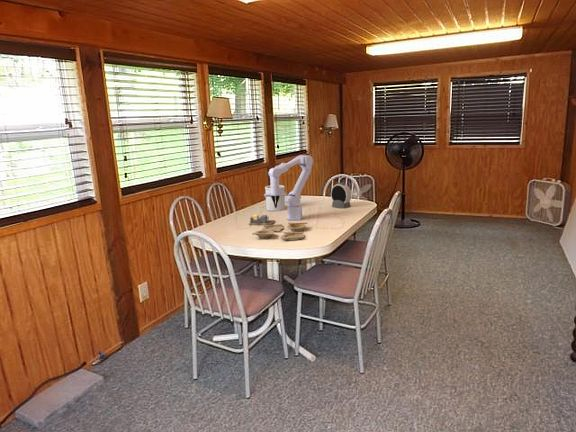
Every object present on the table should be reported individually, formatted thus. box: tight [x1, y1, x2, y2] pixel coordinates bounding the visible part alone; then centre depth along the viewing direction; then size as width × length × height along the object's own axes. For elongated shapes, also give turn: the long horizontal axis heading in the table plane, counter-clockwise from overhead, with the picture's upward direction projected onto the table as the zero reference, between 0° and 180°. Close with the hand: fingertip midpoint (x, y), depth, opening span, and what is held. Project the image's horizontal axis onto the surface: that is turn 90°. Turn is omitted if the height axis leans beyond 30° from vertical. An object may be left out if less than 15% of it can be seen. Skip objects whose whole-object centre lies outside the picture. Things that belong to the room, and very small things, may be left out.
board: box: [248, 219, 276, 226], centre depth 275 cm, size 15×10×1 cm
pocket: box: [249, 216, 261, 223], centre depth 275 cm, size 7×7×4 cm
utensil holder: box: [264, 184, 286, 212], centre depth 316 cm, size 15×15×18 cm
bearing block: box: [259, 214, 268, 223], centre depth 274 cm, size 3×6×4 cm, turn 167°
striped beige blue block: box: [257, 216, 270, 222], centre depth 274 cm, size 7×3×3 cm, turn 77°
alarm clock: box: [330, 182, 352, 209], centre depth 314 cm, size 16×10×18 cm, turn 42°
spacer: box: [251, 214, 260, 220], centre depth 276 cm, size 3×4×4 cm
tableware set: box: [251, 221, 308, 241], centre depth 249 cm, size 35×29×4 cm
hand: (275, 207), depth 275 cm, fingers closed
